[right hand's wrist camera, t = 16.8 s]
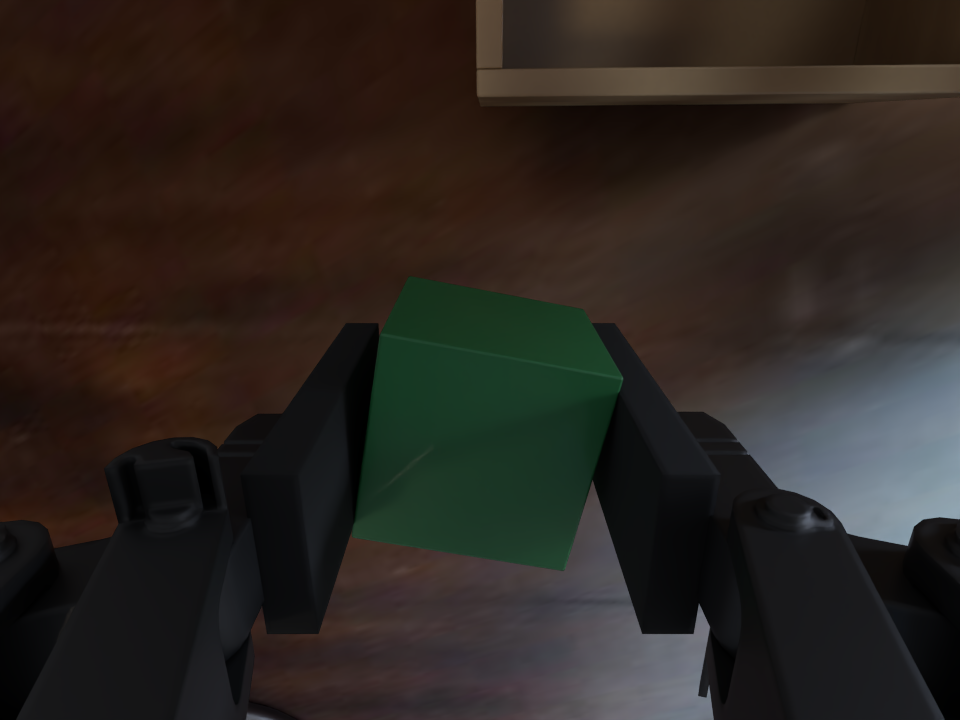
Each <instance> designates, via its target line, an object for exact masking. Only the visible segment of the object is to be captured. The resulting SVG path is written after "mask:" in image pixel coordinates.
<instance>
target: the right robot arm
mask: <svg viewBox="0 0 960 720" xmlns="http://www.w3.org/2000/svg"><path fill="white" fill-rule="evenodd" d="M592 325H593V327H594V329H595V330H596V332H597V334H598V335H599V337H600V339H601V341H602V342H603V344H604V346H605V347H606V349H607V351H608V353H609V354H610V356H611V358H612V360H613V361H614V363H615V365H616V366H617V368H618V370H619V372H620V373H621V375H622V377H623V382H622V386H621V389H620V392H619V395H618V399H617V402H616V405H615V408H614V411H613V415H612V418H611V421H610V424H609V428H608V431H607V434H606V437H605V441H604V444H603V447H602V450H601V454H600V457H599V460H598V463H597V467H596V470H595V473H594V476H593V482H594V485H595V489H596V492H597V495H598V498H599V501H600V504H601V507H602V510H603V513H604V516H605V520H606V523H607V526H608V529H609V532H610V535H611V538H612V541H613V544H614V548H615V551H616V554H617V557H618V560H619V563H620V566H621V569H622V572H623V575H624V579H625V582H626V585H627V588H628V591H629V594H630V597H631V600H632V603H633V607H634V610H635V613H636V616H637V619H638V622H639V625H640V628H641V631H642V634H694V628H695V623H696V617H697V611H698V605H699V604H700V606H701V608H702V610H703V612H704V615H705V617H706V619H707V621H708V623H709V625H710V631H709V636H708V642H707V647H706V653H705V658H704V664H703V669H702V675H701V680H700V686H699V694H698V696H701V697H707V692H708V687H709V686H710V694H711V701H712V709H713V716H714V720H960V519H950V518H941V517H939V518H932V519H924V520H922V521H921V522H919V523H918V524H917V525H916V526H914V529H913V532H912V535H911V538H910V541H909V544H908V546H905V545H900V544H894V543H889V542H884V541H879V540H874V539H868V538H863V537H858V536H854V535H850V534H847V533H846V531H845V529H844V527H843V525H842V523H841V522H840V521H839V520H838V518H837V517H836V516H835V515H834V514H833V513H832V511H830V510H829V509H827V508H826V507H824V506H823V505H821V504H820V503H818V502H816V501H815V500H812V499H810V498H807V497H805V496H802V495H800V494H798V493H795V492H790V491H785V490H781V489H778V488H777V487H776V486H775V484H774V483H773V482H772V481H771V480H770V478H769V477H768V476H767V475H766V474H765V472H764V471H763V470H762V469H761V468H760V466H759V465H758V464H757V463H756V462H755V460H754V459H753V458H752V457H751V456H750V455H747V451H746V450H745V448H744V447H743V446H742V445H741V444H740V442H737V439H736V438H735V436H734V435H733V434H732V433H731V432H730V430H729V429H728V428H727V427H726V426H725V424H723V423H721V422H719V421H718V420H716V419H714V418H713V417H711V416H709V415H708V414H706V413H704V412H676V410H675V409H674V407H673V406H672V404H671V403H670V402H669V400H668V399H667V397H666V396H665V394H664V393H663V392H662V390H661V389H660V387H659V386H658V384H657V383H656V382H655V380H654V379H653V377H652V376H651V374H650V373H649V372H648V370H647V369H646V367H645V366H644V365H643V363H642V362H641V360H640V359H639V357H638V356H637V355H636V353H635V352H634V350H633V349H632V347H631V346H630V345H629V343H628V342H627V340H626V339H625V337H624V336H623V335H622V333H621V332H620V330H619V329H618V327H617V326H616V325H615V323H592ZM378 344H379V326H378V323H346V324H345V326H344V327H343V328H342V330H341V331H340V333H339V334H338V336H337V337H336V338H335V340H334V341H333V343H332V344H331V346H330V347H329V348H328V350H327V351H326V353H325V354H324V356H323V357H322V358H321V360H320V361H319V363H318V364H317V366H316V367H315V368H314V370H313V371H312V373H311V374H310V376H309V377H308V378H307V380H306V381H305V383H304V384H303V386H302V387H301V388H300V390H299V391H298V393H297V394H296V396H295V397H294V398H293V400H292V401H291V403H290V404H289V406H288V407H287V408H286V410H285V411H284V413H283V414H257V415H255V416H253V417H252V418H250V419H248V420H247V421H245V422H243V423H242V424H240V425H238V426H237V427H236V428H235V429H234V430H233V431H232V433H231V434H230V435H229V436H228V437H227V439H226V440H225V441H224V444H222V445H221V446H220V447H219V448H218V450H217V446H215V445H214V444H212V443H211V442H210V441H208V440H204V439H200V438H195V437H178V438H169V439H164V440H158V441H153V442H150V443H147V444H144V445H141V446H138V447H135V448H132V449H131V450H129V451H127V452H125V453H123V454H121V455H120V456H118V457H116V458H115V459H114V460H112V461H111V462H110V463H109V464H108V465H107V466H106V467H105V468H104V470H105V474H106V478H107V482H108V485H109V489H110V493H111V497H112V500H113V504H114V508H115V512H116V515H117V519H118V523H119V524H118V526H117V528H116V530H115V532H114V534H113V536H112V537H109V538H105V539H101V540H96V541H91V542H86V543H80V544H75V545H70V546H65V547H60V548H53V544H52V541H51V538H50V535H49V532H48V529H47V528H45V527H44V526H43V525H41V524H40V523H39V522H32V521H25V520H18V521H9V522H0V720H296V719H294V718H293V717H291V716H289V715H287V714H285V713H282V712H280V711H278V710H275V709H272V708H269V707H266V706H263V705H259V704H255V703H250V702H249V695H250V687H251V680H252V672H253V665H254V657H255V656H254V649H253V642H252V636H251V631H250V630H251V628H252V626H253V624H254V622H255V619H256V617H257V615H258V613H259V611H260V609H261V606H262V607H263V613H264V618H265V624H266V630H267V634H319V630H320V627H321V624H322V621H323V618H324V615H325V612H326V609H327V606H328V603H329V599H330V596H331V593H332V590H333V587H334V584H335V581H336V578H337V575H338V571H339V568H340V565H341V562H342V559H343V556H344V553H345V550H346V547H347V543H348V540H349V537H350V534H351V531H352V528H353V525H354V513H355V506H356V499H357V492H358V485H359V478H360V471H361V464H362V457H363V450H364V443H365V436H366V428H367V421H368V414H369V407H370V400H371V393H372V386H373V379H374V372H375V365H376V358H377V351H378Z"/></svg>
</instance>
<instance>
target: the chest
mask: <svg viewBox="0 0 960 720" xmlns="http://www.w3.org/2000/svg"><path fill="white" fill-rule="evenodd" d="M476 67H477V72H476V76H477V97H478V100H479V103H480V106H584V105H699V104H814V103H863V102H881V101H899V100H917V99H935V98H953V97H960V0H476Z"/></svg>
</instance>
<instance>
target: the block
mask: <svg viewBox="0 0 960 720" xmlns="http://www.w3.org/2000/svg"><path fill="white" fill-rule="evenodd" d="M622 382H623V377H622V375H621V373H620V372H619V370H618V368H617V366H616V365H615V363H614V361H613V360H612V358H611V356H610V354H609V353H608V351H607V349H606V347H605V346H604V344H603V342H602V341H601V339H600V337H599V335H598V334H597V332H596V330H595V329H594V327H593V325H592V323H591V322H590V320H589V318H588V317H587V315H586V313H585V311H584V310H583V309H579V308H574V307H569V306H563V305H558V304H553V303H548V302H543V301H537V300H532V299H527V298H522V297H516V296H511V295H506V294H501V293H495V292H490V291H485V290H480V289H474V288H469V287H464V286H459V285H453V284H448V283H443V282H438V281H433V280H427V279H422V278H417V277H412V276H410V277H408V279H407V281H406V283H405V285H404V287H403V289H402V291H401V293H400V295H399V297H398V299H397V301H396V303H395V305H394V307H393V309H392V311H391V313H390V315H389V317H388V319H387V321H386V323H385V325H384V327H383V330H382V332H381V334H380V336H379V344H378V351H377V358H376V365H375V372H374V379H373V386H372V393H371V400H370V407H369V414H368V421H367V428H366V436H365V443H364V450H363V457H362V464H361V471H360V478H359V485H358V492H357V499H356V506H355V513H354V525H353V528H352V537H354V538H359V539H365V540H371V541H378V542H384V543H390V544H397V545H403V546H409V547H416V548H422V549H428V550H434V551H441V552H447V553H453V554H460V555H466V556H472V557H478V558H485V559H491V560H497V561H504V562H510V563H516V564H523V565H529V566H535V567H541V568H548V569H554V570H560V571H564V570H565V567H566V564H567V561H568V558H569V554H570V551H571V548H572V545H573V541H574V538H575V535H576V532H577V528H578V525H579V522H580V519H581V515H582V512H583V509H584V506H585V502H586V499H587V496H588V493H589V489H590V486H591V483H592V480H593V476H594V473H595V470H596V467H597V463H598V460H599V457H600V454H601V450H602V447H603V444H604V441H605V437H606V434H607V431H608V428H609V424H610V421H611V418H612V415H613V411H614V408H615V405H616V402H617V399H618V395H619V392H620V389H621V386H622Z"/></svg>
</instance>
